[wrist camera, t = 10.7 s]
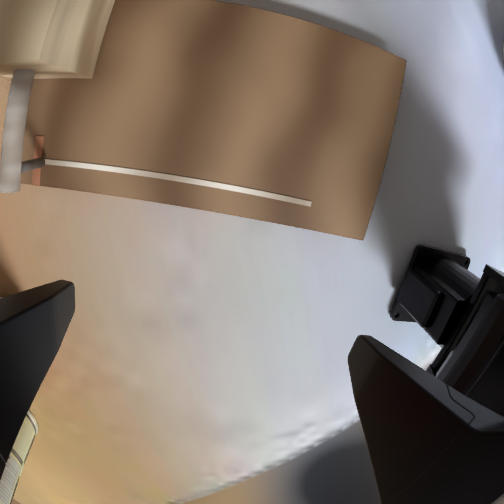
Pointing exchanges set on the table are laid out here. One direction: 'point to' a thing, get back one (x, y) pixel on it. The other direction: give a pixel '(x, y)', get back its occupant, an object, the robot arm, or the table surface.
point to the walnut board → (223, 116)
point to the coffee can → (17, 458)
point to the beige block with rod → (42, 62)
